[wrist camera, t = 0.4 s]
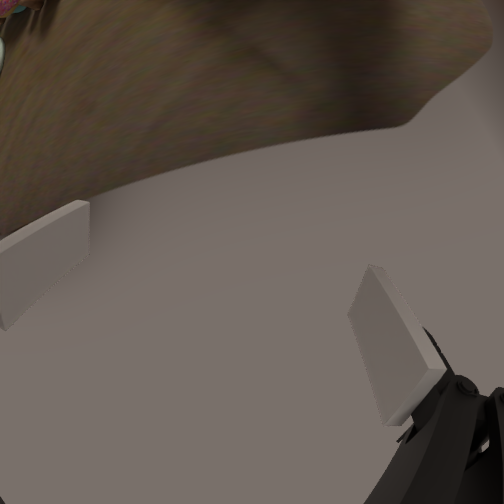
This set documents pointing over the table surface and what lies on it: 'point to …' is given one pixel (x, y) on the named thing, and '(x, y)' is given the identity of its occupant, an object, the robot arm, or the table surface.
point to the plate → (2, 53)
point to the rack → (35, 3)
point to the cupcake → (10, 7)
